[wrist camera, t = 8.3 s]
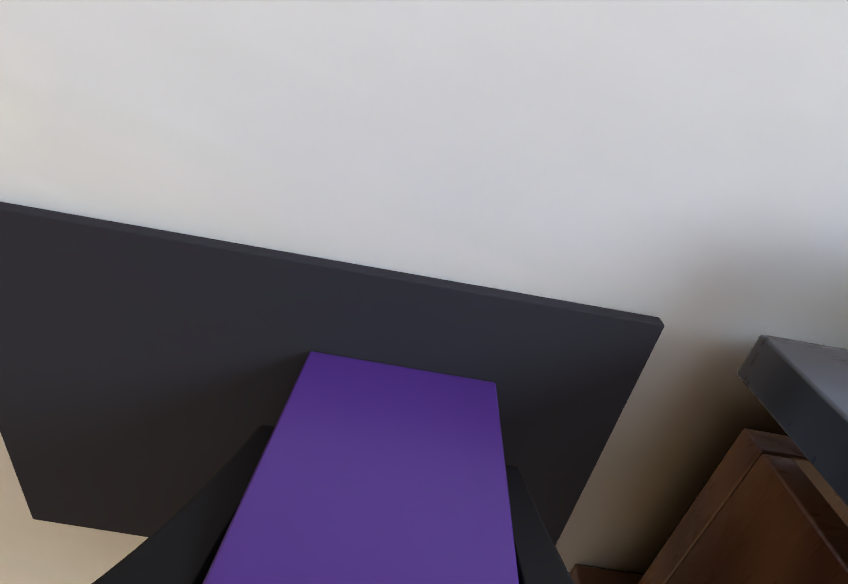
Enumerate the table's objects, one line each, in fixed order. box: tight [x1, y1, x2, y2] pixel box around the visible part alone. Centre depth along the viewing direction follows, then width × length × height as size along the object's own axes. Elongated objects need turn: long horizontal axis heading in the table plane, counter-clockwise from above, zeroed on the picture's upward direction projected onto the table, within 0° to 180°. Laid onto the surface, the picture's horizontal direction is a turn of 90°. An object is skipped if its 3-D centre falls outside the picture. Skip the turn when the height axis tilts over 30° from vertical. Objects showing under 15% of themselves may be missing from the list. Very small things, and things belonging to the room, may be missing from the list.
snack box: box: [203, 351, 519, 584], centre depth 10 cm, size 5×4×7 cm
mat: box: [0, 202, 664, 545], centre depth 14 cm, size 18×12×1 cm, turn 80°
